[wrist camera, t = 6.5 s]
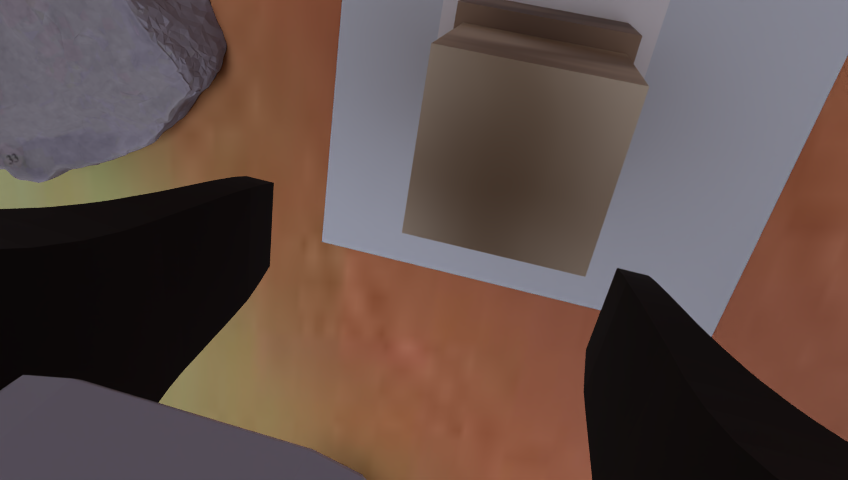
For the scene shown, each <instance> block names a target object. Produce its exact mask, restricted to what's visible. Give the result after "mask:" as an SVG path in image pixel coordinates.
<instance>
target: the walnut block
mask: <svg viewBox="0 0 848 480" xmlns="http://www.w3.org/2000/svg"><path fill="white" fill-rule="evenodd" d="M462 23H468V24H474V25H479V26H484V27H489V28H494V29H499V30H505V31H510V32H515V33H520V34H525V35H530V36H536V37H541V38H546V39H551V40H556V41H561V42H567V43H572V44H577V45H582V46H587V47H592V48H597V49H603V50H608V51H613V52H618V53H623V54H627V55H628V57H629V58H630V60H631V61H632V62H633V64H634V61H635V58H636V55H637V52H638V48H639V45H640V42H641V39H642V35H641V34H640V33H639V32H638V31H637V30H636V29H635V28H634V27H632V26H631V25H630V24H629V23H626V22H621V21H615V20H610V19H605V18H599V17H594V16H589V15H583V14H578V13H572V12H567V11H562V10H556V9H551V8H546V7H540V6H535V5H530V4H524V3H519V2H514V1H508V0H459V1H458V4H457V10H456V16H455V22H454V27H453V29H454V28H456V27H457V26H459V25H460V24H462Z"/></svg>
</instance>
